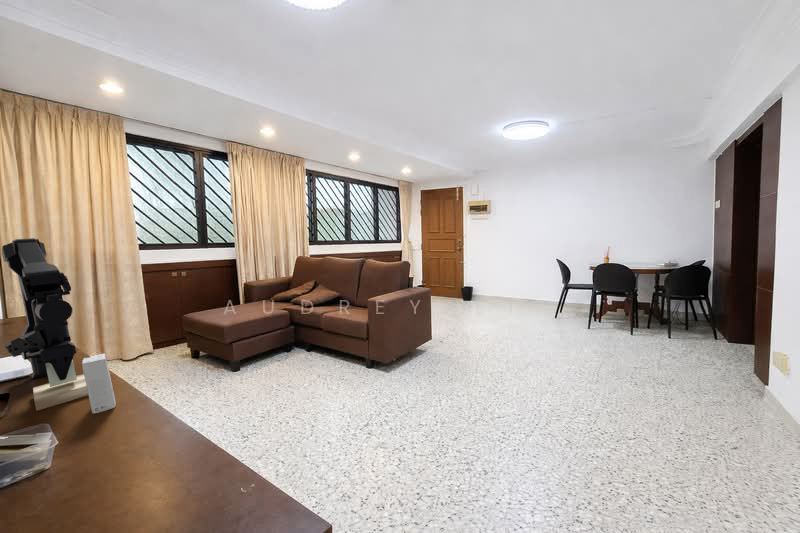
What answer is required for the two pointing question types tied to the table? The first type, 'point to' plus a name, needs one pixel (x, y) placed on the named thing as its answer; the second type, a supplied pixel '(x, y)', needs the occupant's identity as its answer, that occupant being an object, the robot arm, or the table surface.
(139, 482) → the table surface
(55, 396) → the maple plinth
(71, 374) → the sage cube
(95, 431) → the table surface
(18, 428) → the table surface
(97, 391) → the skincare box
